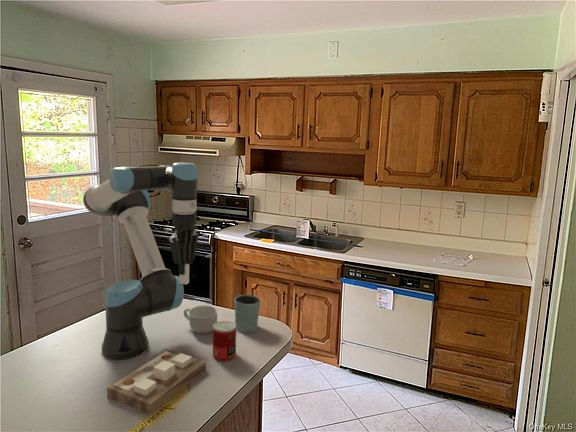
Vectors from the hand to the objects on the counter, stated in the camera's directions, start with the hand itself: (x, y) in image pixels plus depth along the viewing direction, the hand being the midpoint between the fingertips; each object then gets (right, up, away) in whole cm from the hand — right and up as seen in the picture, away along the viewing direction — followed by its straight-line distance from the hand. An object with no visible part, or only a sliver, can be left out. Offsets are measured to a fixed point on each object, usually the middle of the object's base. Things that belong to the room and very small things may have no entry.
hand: (184, 282), depth 139 cm
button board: (-5, -29, -10) cm, 31 cm away
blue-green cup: (+18, -22, +29) cm, 40 cm away
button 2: (0, -27, -4) cm, 28 cm away
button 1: (-7, -30, -18) cm, 35 cm away
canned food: (+12, -26, +7) cm, 30 cm away
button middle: (-3, -27, -11) cm, 29 cm away
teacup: (0, -22, +26) cm, 34 cm away
